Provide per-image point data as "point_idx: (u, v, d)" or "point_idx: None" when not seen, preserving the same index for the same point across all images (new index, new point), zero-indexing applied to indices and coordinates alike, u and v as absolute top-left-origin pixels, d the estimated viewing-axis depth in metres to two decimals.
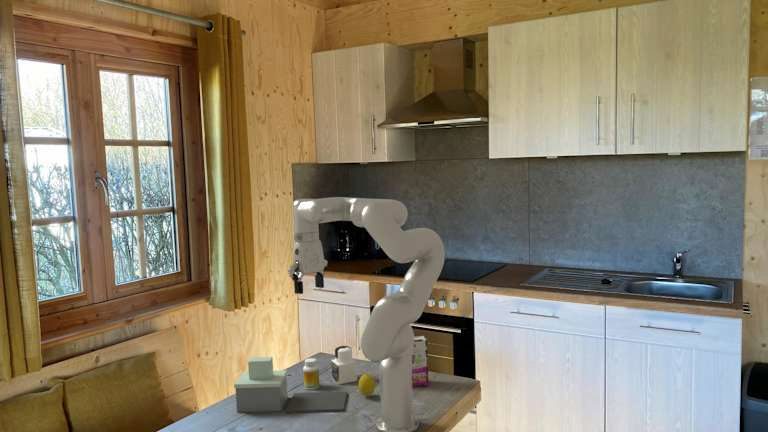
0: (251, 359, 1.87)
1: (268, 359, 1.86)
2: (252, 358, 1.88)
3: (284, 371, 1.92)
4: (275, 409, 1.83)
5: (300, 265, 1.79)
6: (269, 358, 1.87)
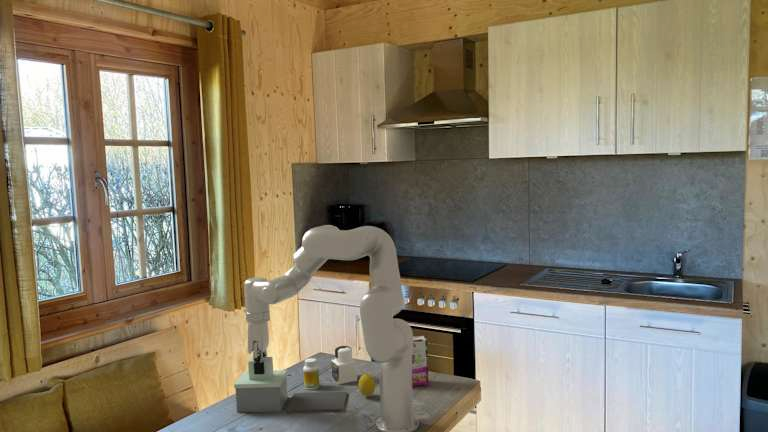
0: (251, 359, 1.87)
1: (268, 359, 1.86)
2: (252, 358, 1.88)
3: (284, 371, 1.92)
4: (275, 409, 1.83)
5: None
6: (269, 358, 1.87)
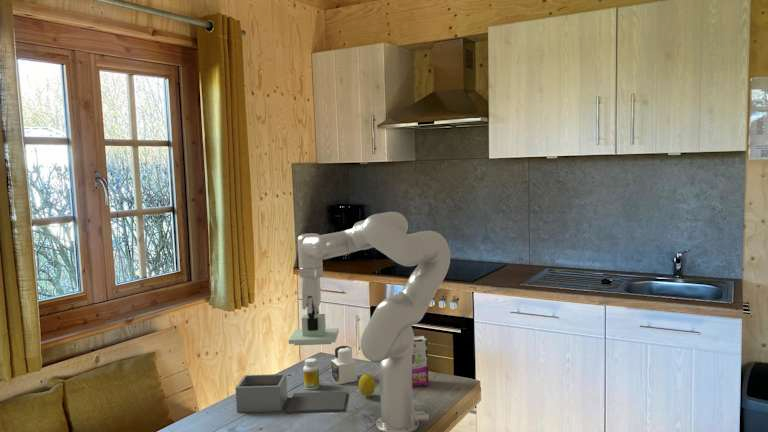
0: (304, 316, 1.85)
1: (321, 315, 1.85)
2: (305, 315, 1.86)
3: (336, 329, 1.90)
4: (275, 409, 1.83)
5: None
6: (322, 315, 1.86)
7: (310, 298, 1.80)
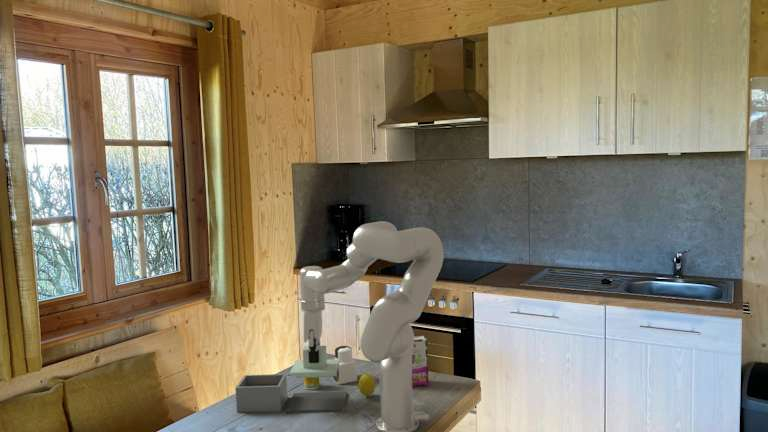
0: (305, 348, 1.86)
1: (322, 348, 1.86)
2: (306, 347, 1.87)
3: (337, 360, 1.91)
4: (275, 409, 1.83)
5: None
6: (323, 347, 1.87)
7: (312, 331, 1.81)
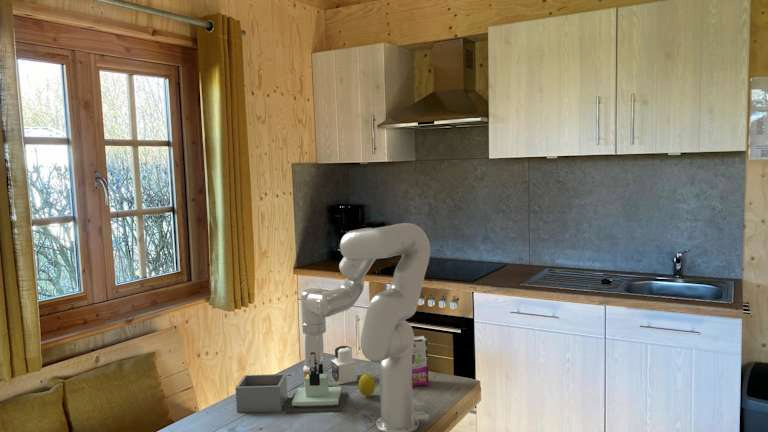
0: (307, 376, 1.87)
1: (324, 376, 1.86)
2: (308, 375, 1.88)
3: (339, 388, 1.92)
4: (275, 409, 1.83)
5: None
6: (325, 375, 1.87)
7: None
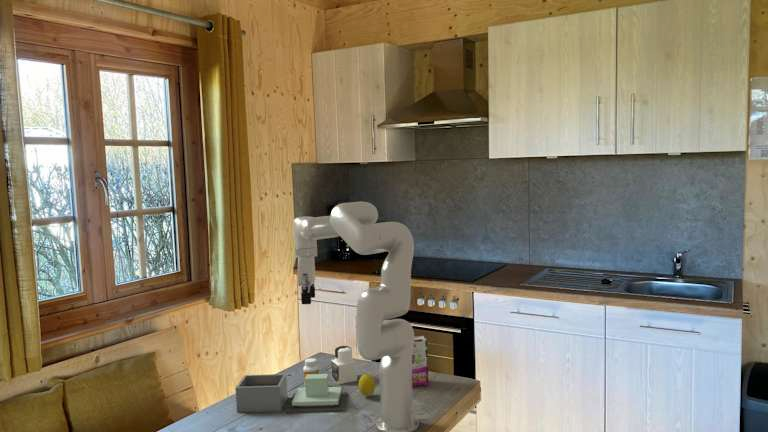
0: (307, 376, 1.87)
1: (324, 376, 1.86)
2: (308, 375, 1.88)
3: (339, 388, 1.92)
4: (275, 409, 1.83)
5: None
6: (325, 375, 1.87)
7: None
